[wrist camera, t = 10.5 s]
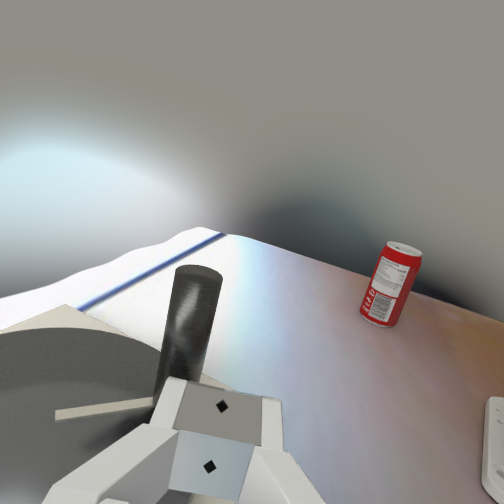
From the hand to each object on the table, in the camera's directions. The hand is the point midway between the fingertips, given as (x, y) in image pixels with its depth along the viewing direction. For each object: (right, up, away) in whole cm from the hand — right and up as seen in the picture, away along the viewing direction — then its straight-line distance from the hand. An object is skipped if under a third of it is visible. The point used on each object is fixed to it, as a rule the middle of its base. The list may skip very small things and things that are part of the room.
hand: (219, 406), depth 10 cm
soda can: (+20, -6, +46) cm, 50 cm away
